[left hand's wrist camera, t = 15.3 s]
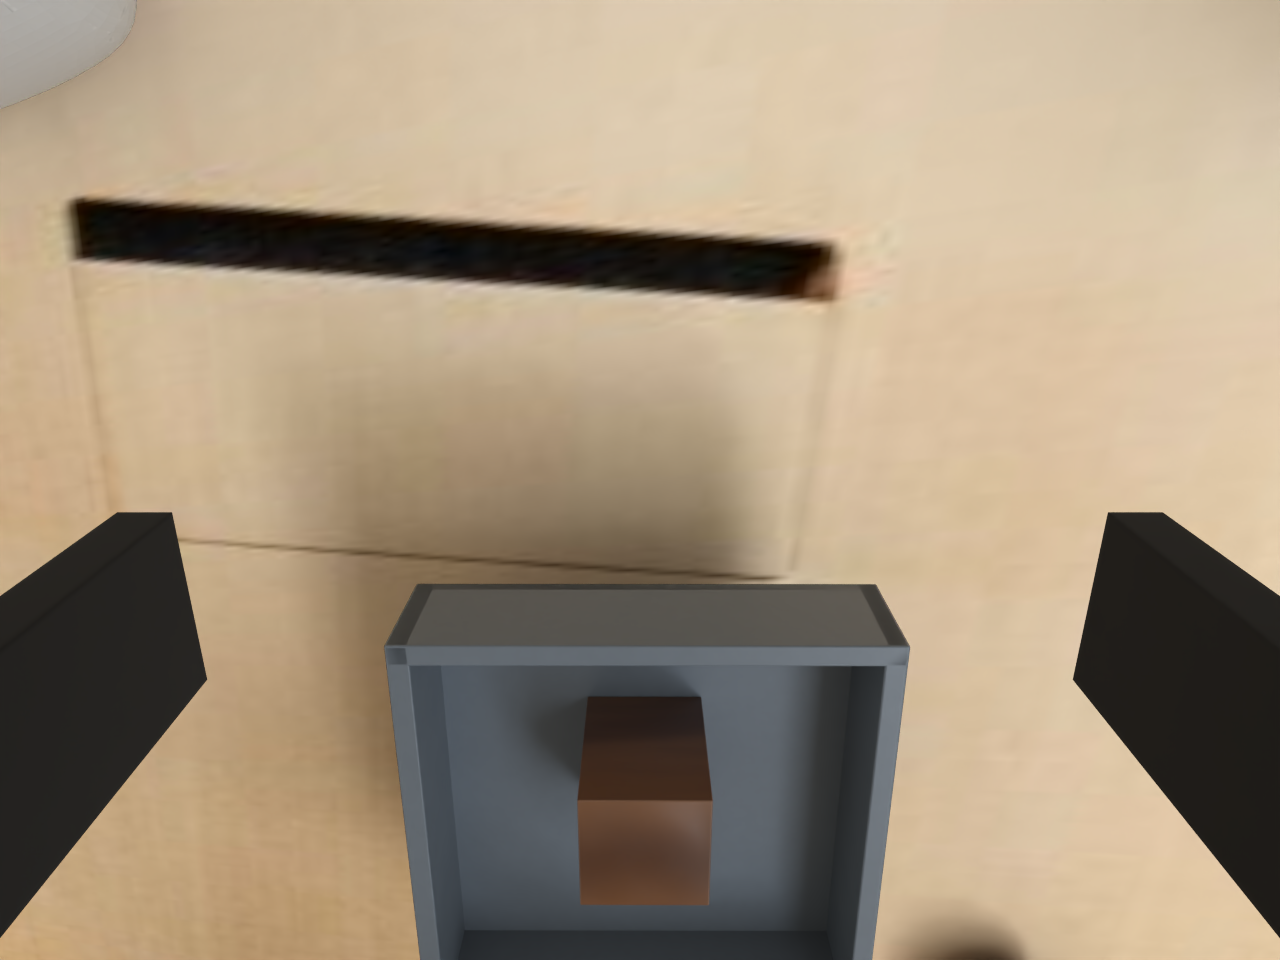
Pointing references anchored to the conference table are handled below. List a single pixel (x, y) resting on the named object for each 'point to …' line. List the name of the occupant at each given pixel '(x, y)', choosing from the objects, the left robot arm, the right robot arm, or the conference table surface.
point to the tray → (736, 744)
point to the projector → (56, 41)
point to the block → (644, 803)
